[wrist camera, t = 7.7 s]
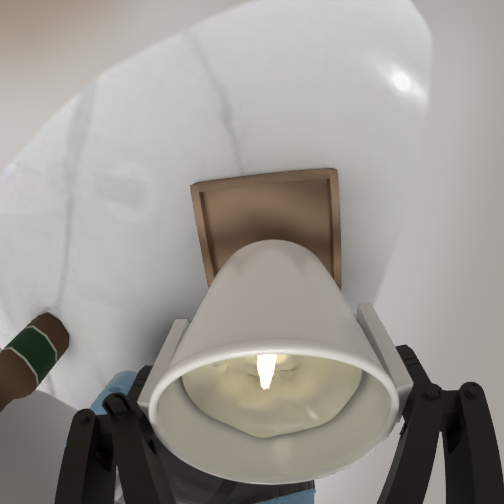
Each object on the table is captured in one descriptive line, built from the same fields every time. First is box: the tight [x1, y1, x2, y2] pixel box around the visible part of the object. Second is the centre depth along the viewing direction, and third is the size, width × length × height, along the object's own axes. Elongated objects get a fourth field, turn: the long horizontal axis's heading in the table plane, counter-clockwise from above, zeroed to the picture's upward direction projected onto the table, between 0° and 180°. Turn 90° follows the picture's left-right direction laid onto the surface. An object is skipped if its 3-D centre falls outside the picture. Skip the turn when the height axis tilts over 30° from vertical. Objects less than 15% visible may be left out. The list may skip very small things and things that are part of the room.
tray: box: [190, 168, 341, 291], centre depth 31 cm, size 15×15×2 cm
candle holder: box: [148, 240, 399, 485], centre depth 15 cm, size 10×10×12 cm
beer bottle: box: [0, 313, 69, 412], centre depth 29 cm, size 8×8×24 cm
